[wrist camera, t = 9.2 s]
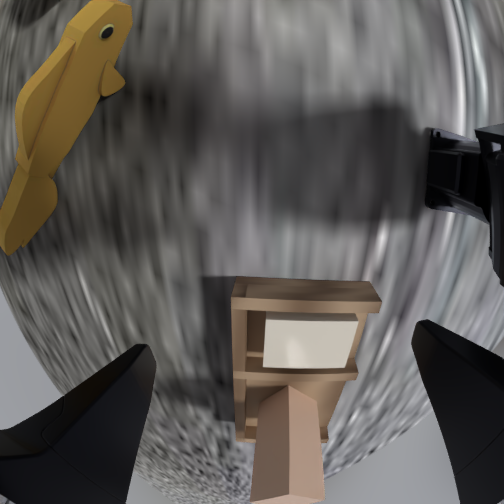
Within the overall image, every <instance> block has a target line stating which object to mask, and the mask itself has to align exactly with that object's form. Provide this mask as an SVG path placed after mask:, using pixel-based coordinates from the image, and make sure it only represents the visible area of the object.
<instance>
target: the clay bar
mask: <svg viewBox="0 0 504 504" xmlns="http://www.w3.org/2000/svg"><path fill="white" fill-rule="evenodd" d="M323 500H325V490H324V475H323V461H322V449H321V438H320V428H319V418H318V408H317V401H315V400H314V399H312V398H310V397H308V396H306V395H305V394H303V393H301V392H299V391H298V390H296V389H294V388H293V387H291V386H289V385H288V386H286V387H285V388H283V389H282V390H280V391H278V392H277V393H275V394H273V395H272V396H270V397H268V398H267V399H265V400H263V401H261V402H260V403H259V407H258V419H257V431H256V443H255V454H254V465H253V475H252V485H251V495H250V502H251V503H255V504H312V503H316V502H319V501H323Z"/></svg>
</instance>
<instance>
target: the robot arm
mask: <svg viewBox="0 0 504 504" xmlns="http://www.w3.org/2000/svg"><path fill="white" fill-rule="evenodd" d="M436 132H437V133H438V137H437V136H436ZM475 134H476V138H478V141H479V142H476V141H474V140H471V139H468V138H465V137H463V136H460V135H457V134H454V133H451V132H448V131H445V130H442V129H438V128H434V129H432V131H431V143H430V152H429V161H428V173H427V190H426V198H425V205H426V206H427V207H428V208H430V209H435V210H442V211H448V212H454V213H460V214H466V215H471V216H473V217H475V218H477V219H479V220H481V221H483V222H485V223H487V224H489V225H490V247H489V256H490V258H491V259H492V264H493V269H494V271H495V272H496V274H497V276H498V277H499V278H500V284H501V285H502V286H503V287H504V123H503V124H498V125H493V126H488V127H483V128H479V129H475ZM431 200H432V204H431V205H430V201H431ZM411 345H412V349H413V352H414V355H415V358H416V361H417V365H418V368H419V371H420V375H421V378H422V381H423V384H424V386H425V389H426V391H427V394H428V396H429V399H430V402H431V404H432V407H433V410H434V412H435V415H436V418H437V421H438V423H439V427H440V429H441V432H442V435H443V439H444V442H445V445H446V448H447V451H448V455H449V458H450V462H451V466H452V469H453V473H454V476H455V477H454V478H455V482H456V486H457V490H458V495H459V500H460V504H497V503H499V502H501V504H504V359H503V358H502V357H500V356H498V355H496V354H494V353H492V352H491V351H489V350H487V349H485V348H483V347H481V346H479V345H477V344H475V343H473V342H471V341H469V340H468V339H466V338H464V337H462V336H460V335H458V334H456V333H454V332H452V331H450V330H448V329H446V328H444V327H442V326H440V325H438V324H436V323H434V322H432V321H430V320H428V319H426V320H421V321H418V322H417V323H416V326H415V329H414V333H413V337H412V341H411ZM155 373H156V361H155V358H154V356H153V354H152V351H151V349H150V347H149V345H147V344H136V345H134V346H133V347H131V348H130V349H129V350H127V351H126V352H124V353H123V354H122V355H120V356H119V357H117V358H116V359H115V360H113V361H112V362H110V363H109V364H108V365H106V366H105V367H103V368H102V369H101V370H99V371H98V372H96V373H95V374H94V375H92V376H91V377H89V378H88V379H87V380H85V381H84V382H82V383H81V384H79V385H78V386H77V387H75V388H74V389H72V390H71V391H70V392H68V393H67V394H65V396H62V397H61V398H60V399H58V400H57V401H55V402H54V403H52V404H51V405H49V406H48V407H46V408H45V409H43V410H41V411H40V412H38V413H36V414H35V415H33V416H31V417H29V418H28V419H26V420H24V421H22V422H21V423H19V424H17V425H15V426H14V427H11V428H9V429H4V430H0V504H126V503H125V502H126V500H127V494H128V490H129V486H130V481H131V477H132V473H133V468H134V464H135V460H136V456H137V452H138V448H139V444H140V440H141V436H142V432H143V429H144V425H145V421H146V418H147V414H148V410H149V406H150V402H151V396H152V390H153V384H154V378H155Z"/></svg>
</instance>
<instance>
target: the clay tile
mask: <svg viewBox="0 0 504 504" xmlns="http://www.w3.org/2000/svg"><path fill="white" fill-rule="evenodd" d="M358 322H359V321H358V318H357V316H356V314H355V313H304V312H277V311H266V326H265V342H264V357H263V367H272V368H345V365H346V362H347V359H348V356H349V353H350V350H351V346H352V343H353V340H354V336H355V333H356V329H357V326H358Z"/></svg>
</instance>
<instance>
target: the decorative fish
mask: <svg viewBox="0 0 504 504" xmlns="http://www.w3.org/2000/svg"><path fill="white" fill-rule="evenodd" d="M132 25H133V22H132V11H131V6H129V5H127V4H125V3H122V2H120V1H117V0H91V1H90V2H89V3H88V4H87V5H86V6H85V7H84V8H83V9H82V10H81V11H80V12H79V13H78V14H77V15H76V16H75V17H74V18H73V19H72V20H71V21H70V22H69V23H68V24H67V26H66V29H65V31H64V33H63V35H62V38H61V40H60V43H59V45H58V47H57V48H56V49H55V50H54V52H53V53H52V54H51V55H50V57H49V58H48V59H47V60H46V62H45V63H44V64H43V65H42V66H41V67H40V68H39V70H38V71H37V72H36V73H35V74H34V75H33V76H32V77H31V78H30V79H29V80H28V82H27V83H26V84H25V86H24V87H23V89H22V90H21V92H20V94H19V96H18V98H17V102H16V106H15V124H16V132H17V137H18V142H19V147H18V151H17V154H16V158H15V160H16V161H17V162H18V163H19V164H18V166H17V169H16V171H15V173H14V176H13V179H12V181H11V184H10V187H9V189H8V192H7V195H6V197H5V200H4V203H3V205H2V207H1V209H0V246H1V248H2V249H3V251H4V252H5V253H6V255H8V256H9V255H11V254H12V253H14V252H15V251H16V250H17V249H18V248H19V246H20V245H21V246H22V247H23V248H24V247H25V246H26V244H27V243H28V242H29V241H30V240H31V238H32V237H33V236H34V235H35V234H36V232H37V231H38V230H39V229H40V227H41V226H42V225H43V224H44V223H45V221H46V220H47V219H48V218H49V216H50V215H51V214H52V212H53V211H54V209H55V207H56V205H57V202H58V200H57V188H56V185H55V182H54V181H53V180H52V178H53V176H54V174H55V172H56V171H57V169H58V167H59V165H60V164H61V162H62V160H63V158H64V157H65V156H66V155H67V154H68V152H69V151H70V149H71V147H72V145H73V144H74V142H75V140H76V139H77V137H78V135H79V134H80V132H81V130H82V129H83V127H84V126H85V124H86V123H87V121H88V119H89V118H90V116H91V115H92V113H93V111H94V109H95V107H96V104H97V102H98V100H99V98H100V96H101V95H102V96H109V95H111V94H113V93H115V92H117V91H118V90H120V89H121V88H122V87H123V86H124V84H125V80H124V79H123V77H122V76H121V75H120V74H119V73H118V72H117V71H116V69H115V68H114V65H115V63H116V60H117V58H118V55H119V53H120V51H121V48H122V46H123V44H124V41H125V39H126V37H127V35H128V33H129V31H130V29H131V27H132Z"/></svg>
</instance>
